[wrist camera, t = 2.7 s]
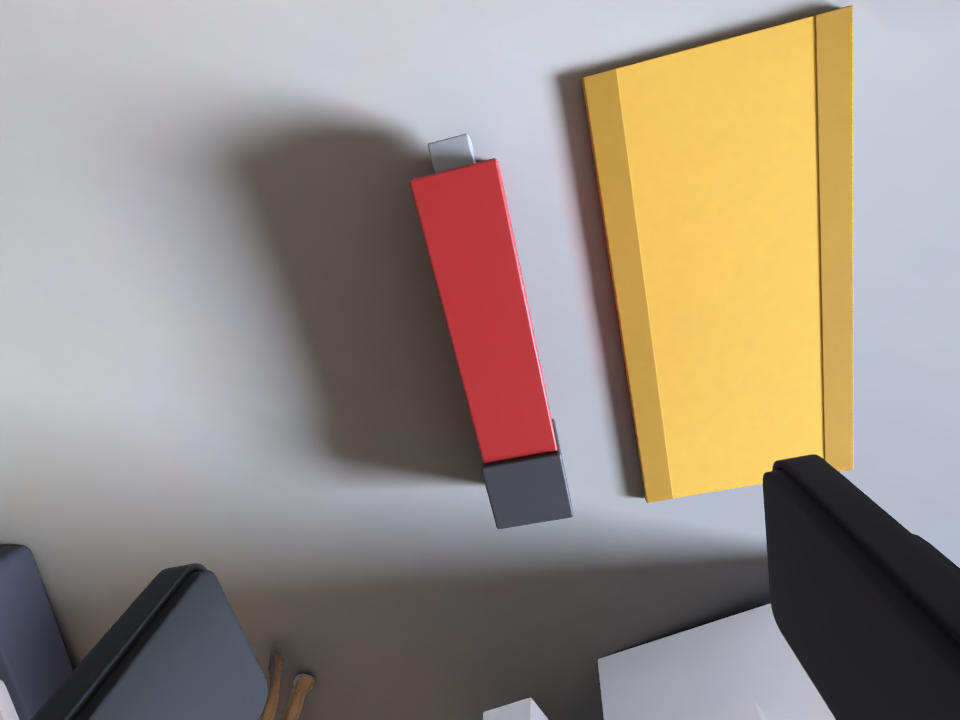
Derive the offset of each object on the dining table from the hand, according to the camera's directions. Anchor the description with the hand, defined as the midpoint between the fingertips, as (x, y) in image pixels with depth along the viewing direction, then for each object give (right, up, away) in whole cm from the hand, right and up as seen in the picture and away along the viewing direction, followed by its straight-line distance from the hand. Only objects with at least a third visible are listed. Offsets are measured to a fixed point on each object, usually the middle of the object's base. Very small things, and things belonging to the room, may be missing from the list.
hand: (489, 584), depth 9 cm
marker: (+1, +5, +13) cm, 14 cm away
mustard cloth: (+10, +6, +12) cm, 17 cm away
